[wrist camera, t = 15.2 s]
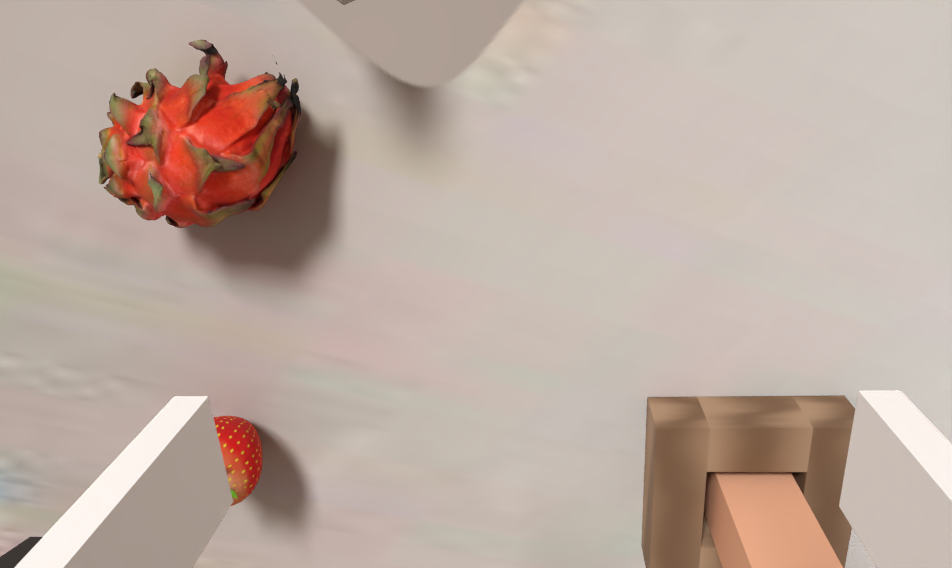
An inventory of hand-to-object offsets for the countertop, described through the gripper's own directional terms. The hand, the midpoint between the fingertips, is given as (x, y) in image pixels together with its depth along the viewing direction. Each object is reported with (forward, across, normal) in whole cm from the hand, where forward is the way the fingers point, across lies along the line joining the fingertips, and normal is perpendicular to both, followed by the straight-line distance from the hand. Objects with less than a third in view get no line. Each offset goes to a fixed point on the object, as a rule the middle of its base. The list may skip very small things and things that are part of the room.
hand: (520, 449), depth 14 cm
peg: (+27, -13, +21) cm, 36 cm away
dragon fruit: (+27, +17, -3) cm, 32 cm away
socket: (+27, -13, +21) cm, 36 cm away
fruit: (+27, +20, +17) cm, 38 cm away
